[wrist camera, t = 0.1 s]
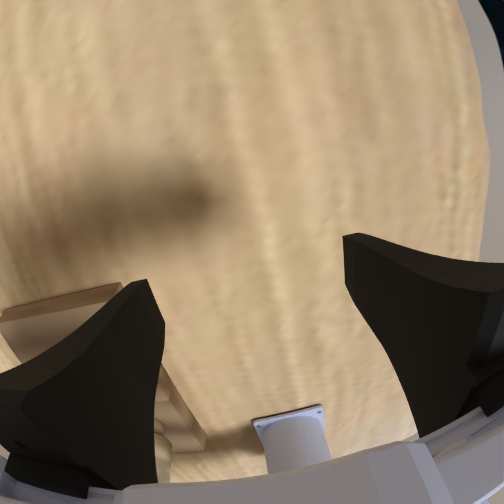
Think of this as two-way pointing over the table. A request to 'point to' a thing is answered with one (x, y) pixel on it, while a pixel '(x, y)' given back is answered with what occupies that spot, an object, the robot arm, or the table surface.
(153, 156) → the table surface
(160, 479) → the peg
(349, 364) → the table surface
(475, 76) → the table surface
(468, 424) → the robot arm
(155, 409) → the board
